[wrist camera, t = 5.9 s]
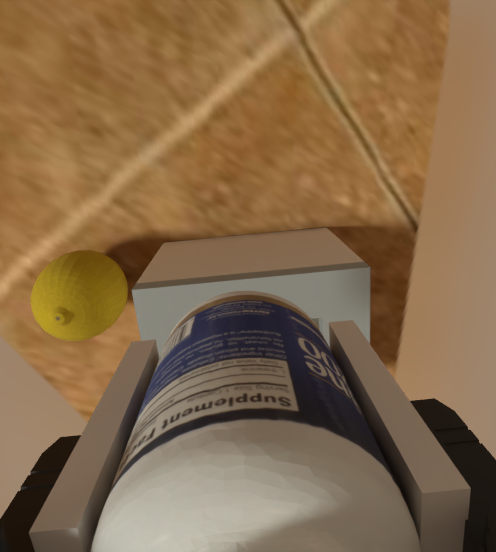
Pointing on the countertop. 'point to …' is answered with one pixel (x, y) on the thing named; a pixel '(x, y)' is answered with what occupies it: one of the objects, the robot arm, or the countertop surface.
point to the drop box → (255, 278)
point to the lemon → (79, 295)
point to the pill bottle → (252, 445)
